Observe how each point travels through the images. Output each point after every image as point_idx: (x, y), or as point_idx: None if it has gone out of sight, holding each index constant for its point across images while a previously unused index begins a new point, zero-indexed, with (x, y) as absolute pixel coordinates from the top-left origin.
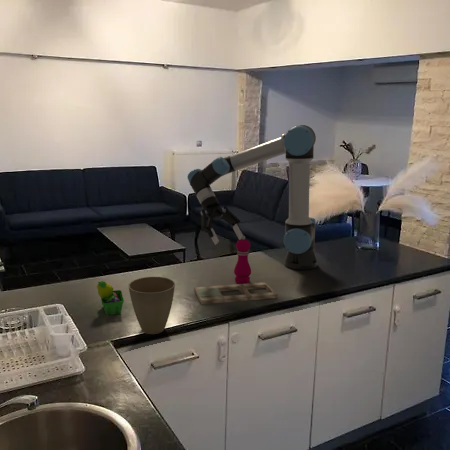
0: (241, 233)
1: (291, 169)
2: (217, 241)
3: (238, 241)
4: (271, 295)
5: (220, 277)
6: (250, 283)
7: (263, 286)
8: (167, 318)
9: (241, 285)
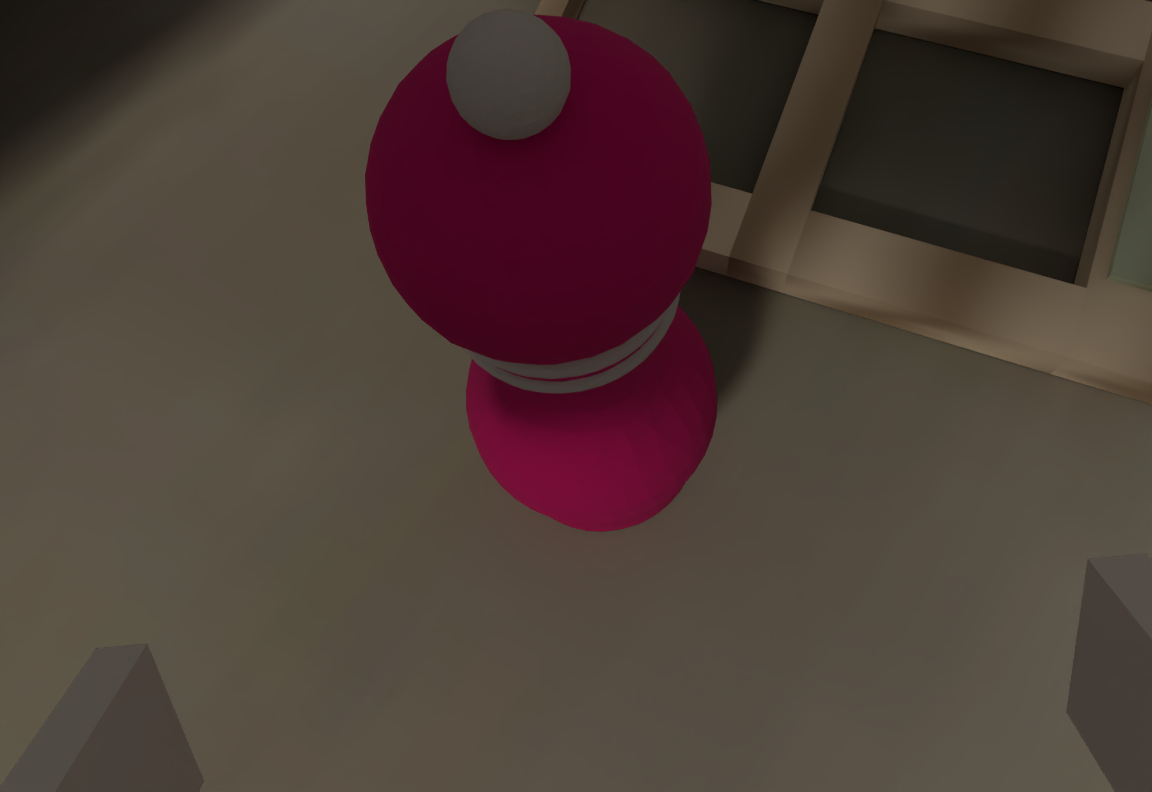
0: (64, 722)
1: None
2: (1148, 571)
3: (662, 151)
4: None
5: (768, 731)
6: None
7: None
8: None
9: (769, 222)
